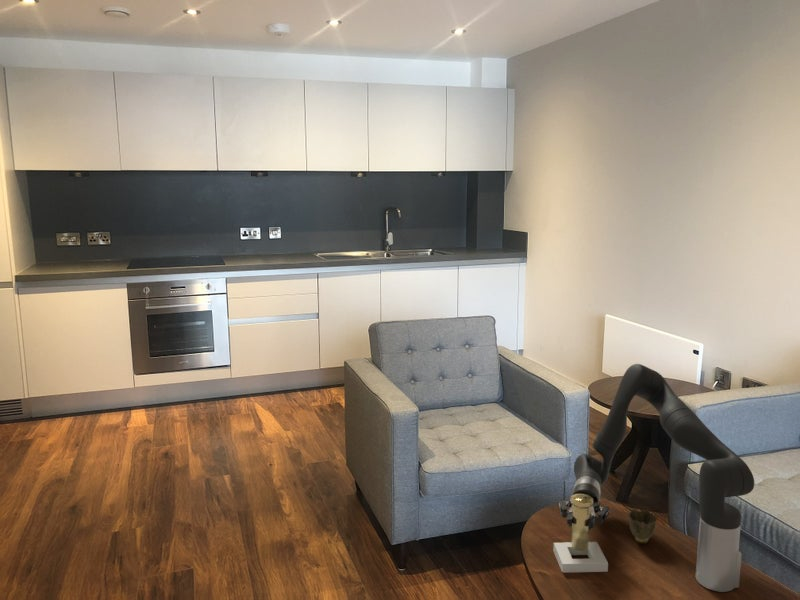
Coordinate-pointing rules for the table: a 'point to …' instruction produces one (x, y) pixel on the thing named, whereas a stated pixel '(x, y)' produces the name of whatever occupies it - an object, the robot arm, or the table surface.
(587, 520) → the gold flanged cylinder
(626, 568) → the table surface
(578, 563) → the frame
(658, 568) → the table surface
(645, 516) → the cup
